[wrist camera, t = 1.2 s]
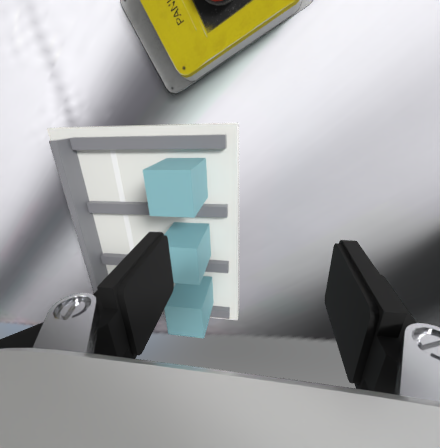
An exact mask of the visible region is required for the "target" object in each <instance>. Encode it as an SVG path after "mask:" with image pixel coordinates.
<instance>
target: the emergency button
mask: <svg viewBox="0 0 440 448" xmlns="http://www.w3.org/2000/svg"><path fill="white" fill-rule="evenodd" d="M120 1H121V4H122V7H123V9H124V11H125V13H126V15H127V16H128V18H129V20H130V22H131V24H132V26H133V27H134V29H135V31H136V33H137V35H138V37H139V39H140V40H141V42H142V44H143V46H144V48H145V50H146V51H147V53H148V55H149V57H150V59H151V61H152V62H153V64H154V66H155V68H156V70H157V72H158V73H159V75H160V77H161V79H162V81H163V83H164V85H165V86H166V88H167V89H168V90H169V91H170V92H172V93H178V92H181V91H183V90H184V89H186V88H187V87H189V86H190V85H191V84H193V83H194V82H196V81H197V80H199V79H200V78H202V77H203V76H205V75H206V74H208V73H209V72H211V71H212V70H214V69H215V68H217V67H218V66H220V65H221V64H222V63H224V62H225V61H227V60H228V59H230V58H231V57H233V56H234V55H236V54H237V53H239V52H240V51H242V50H243V49H245V48H246V47H248V46H249V45H251V44H252V43H254V42H255V41H256V40H258V39H259V38H261V37H262V36H264V35H265V34H267V33H268V32H270V31H271V30H273V29H274V28H276V27H277V26H279V25H280V24H282V23H283V22H285V21H286V20H288V19H289V18H290V17H292V16H293V15H295V14H296V13H298V12H299V11H301V10H302V9H304V8H305V7H307V6H308V5H309V4H310V3H311V2H312V1H313V0H120Z"/></svg>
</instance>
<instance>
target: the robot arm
mask: <svg viewBox="0 0 440 448" xmlns="http://www.w3.org/2000/svg"><path fill="white" fill-rule="evenodd" d="M97 289H98V290H97V291H96V292H95V293H94V294H93V295H92V294H90V293H77V294H73V295H70V296H67V297H65V298H63V299H61V300H60V301H58V302H57V303H55V304H54V305H53V306H52V307H51V308H50V310H49V312H48V313H47V316H46V318H45V320H44V322H43V323H40V324H38V325H35V326H33V327H30V328H28V329H25V330H23V331H20V332H18V333H15V334H13V335H10V336H8V337H5V338H3V339H0V448H440V328H439V327H437V326H433V325H430V324H423V323H416V321H415V320H414V319H413V317H412V316H411V314H410V313H409V311H408V310H407V309H406V307H405V306H404V304H403V303H402V302H401V300H400V299H399V297H398V296H397V294H396V293H395V292H394V290H393V289H392V287H391V286H390V285H389V283H388V282H387V280H386V279H385V278H384V277H383V276H382V275H380V274H379V272H378V271H377V270H376V268H375V267H374V265H373V264H372V262H371V261H370V259H369V258H368V257H367V255H366V254H365V252H364V251H363V249H362V248H361V246H360V245H359V244H358V242H357V241H347V240H341V241H340V242H339V244H336V243H335V245H334V248H333V254H332V260H331V265H330V271H329V277H328V282H327V288H326V294H325V305H326V309H327V312H328V315H329V318H330V322H331V325H332V328H333V331H334V335H335V338H336V341H337V344H338V348H339V351H340V354H341V358H342V361H343V364H344V367H345V371H346V374H347V377H348V380H349V382H350V383H355V386H356V389H355V388H348V387H340V386H333V385H326V384H318V383H312V382H304V381H297V380H290V379H282V378H275V377H268V376H260V375H253V374H246V373H238V372H231V371H224V370H216V369H208V368H200V367H193V366H186V365H178V364H170V363H163V362H155V361H147V360H138V359H135V358H136V356H137V355H140V354H141V353H142V352H143V350H144V348H145V346H146V344H147V342H148V340H149V338H150V336H151V334H152V332H153V330H154V328H155V326H156V324H157V322H158V320H159V318H160V316H161V314H162V312H163V310H164V308H165V306H166V304H167V302H168V300H169V299H170V297H171V295H172V293H173V289H174V281H173V274H172V266H171V259H170V251H169V243H168V237H167V236H166V235H164V234H163V232H148V234H147V235H146V236H145V237H144V238H143V239H142V240H141V241H140V242H139V243H138V244H137V245H136V246H135V247H134V248H133V249H132V250H131V251H130V253H129V254H128V255H127V256H126V257H125V258H124V259H123V260H122V261H121V262H120V263H119V264H118V265H117V266H116V267H115V268H114V269H113V270H112V271H111V273H110V274H109V275H108V276H107V277H106V278H105V279H104V280H103V281H102V282H101V283H100V284H99V285H98V286H97Z"/></svg>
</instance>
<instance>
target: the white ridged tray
mask: <svg viewBox="0 0 440 448" xmlns="http://www.w3.org/2000/svg"><path fill="white" fill-rule="evenodd" d="M47 131H48V134H49V137H50V141H49V143H50V146H51V150H52V153H53V156H54V160H55V163H56V167H57V170H58V173H59V177H60V180H61V183H62V187H63V190H64V194H65V197H66V200H67V204H68V207H69V210H70V214H71V217H72V221H73V224H74V227H75V231H76V234H77V237H78V241H79V244H80V248H81V251H82V254H83V258H84V261H85V264H86V268H87V271H88V275H89V278H90V281H91V285H92V288H93V291H94V293H95V292H96V291H97V290H98V289H97V286H98V285H99V284H100V283H101V282H102V281H103V280H104V279H105V278H106V277H107V276H108V275H109V274H110V273H111V271H112V270H113V269H114V268H115V267H116V266H117V265H118V264H119V263H120V262H121V261H122V260H123V259H124V258H125V257H126V256H127V255H128V254H129V253H130V251H131V250H132V249H133V248H134V247H135V246H136V245H137V244H138V243H139V242H140V241H141V240H142V239H143V238H144V237H145V236H146V235H147V234H148V232H163V234H165V233H166V232H167V230H168V229H169V228H170V227H171V225H172V224H173V223H174V222H184V223H209V226H210V244H211V257H210V259H209V262H208V265H207V267H206V270H205V273H204V275H203V276H210V277H212V282H213V301H214V303H213V307H212V311H211V314H210V318H219V319H229V320H238V314H239V123H206V124H168V125H130V126H92V127H59V128H48V129H47ZM166 158H206V169H207V188H208V198H207V199H206V201H205V202H204V204H203V206H202V207H201V209H200V210H199V212H198V213H197V215H196V216H195V218H191V217H163V216H150V214H149V208H148V201H147V195H146V189H145V182H144V176H143V169H145V168H148V167H150V166H152V165H154V164H156V163H158V162H160V161H162V160H164V159H166ZM174 285H175V283H174ZM162 313H165V309H164V310H163V312H162Z"/></svg>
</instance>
